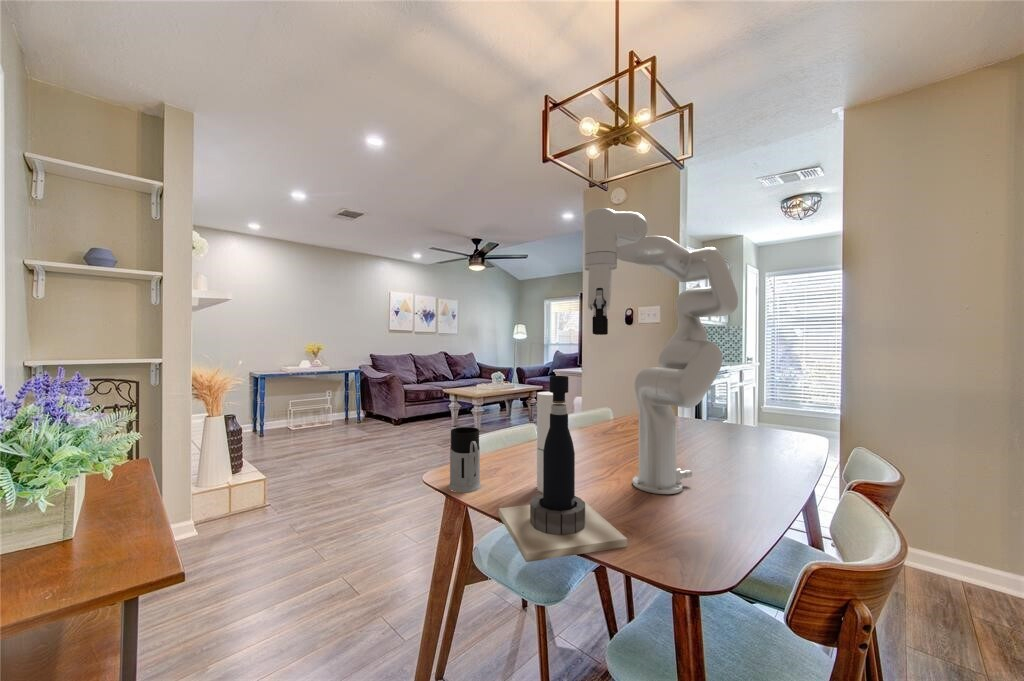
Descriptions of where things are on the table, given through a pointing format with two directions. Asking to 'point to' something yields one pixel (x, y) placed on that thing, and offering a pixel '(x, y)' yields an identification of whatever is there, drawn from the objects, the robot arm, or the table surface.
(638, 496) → the table surface
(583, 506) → the bottle stand
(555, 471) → the wine bottle
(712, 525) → the table surface
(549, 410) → the cylindrical container
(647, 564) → the table surface
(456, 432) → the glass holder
